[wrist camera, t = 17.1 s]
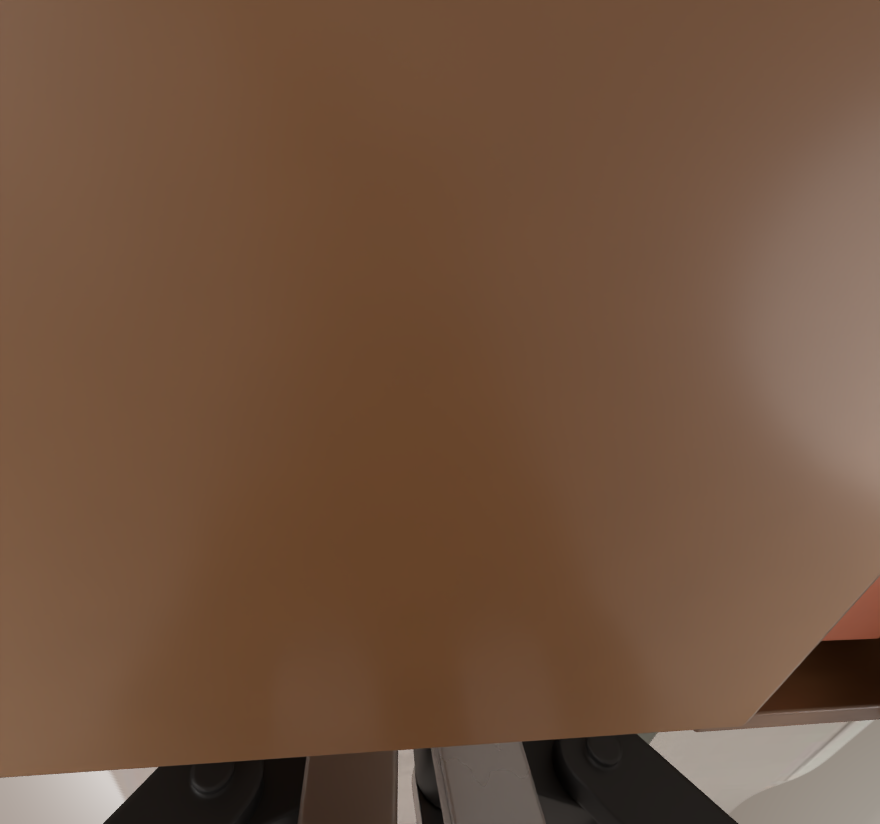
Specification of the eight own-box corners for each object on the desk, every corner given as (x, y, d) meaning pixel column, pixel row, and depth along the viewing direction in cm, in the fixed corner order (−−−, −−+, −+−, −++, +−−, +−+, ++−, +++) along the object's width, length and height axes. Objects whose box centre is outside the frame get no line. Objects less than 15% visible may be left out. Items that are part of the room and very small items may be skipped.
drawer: (404, 548, 18) (426, 776, 13) (453, 236, 13) (531, 411, 7) (835, 547, 22) (999, 730, 16) (1036, 296, 16) (1403, 450, 10)
